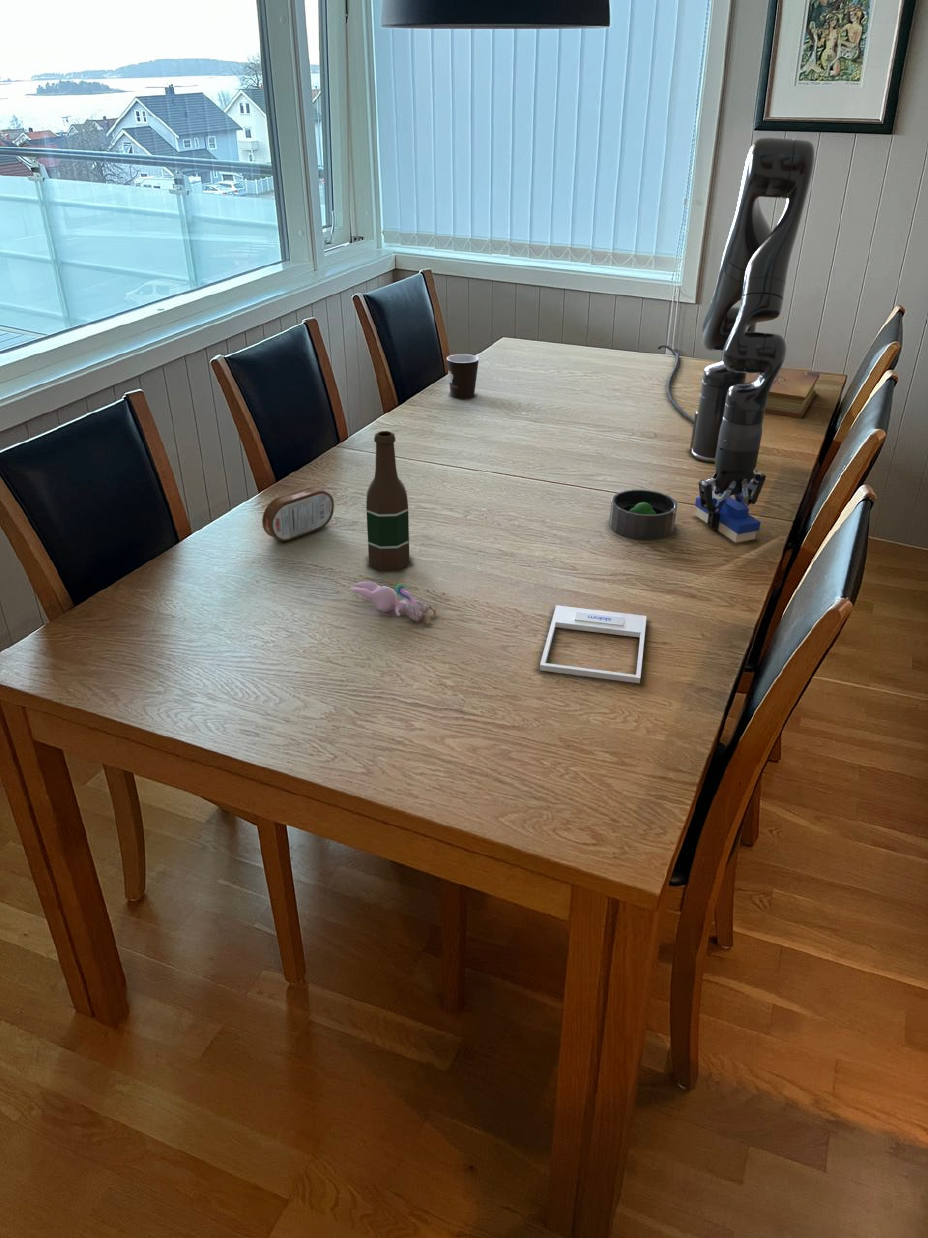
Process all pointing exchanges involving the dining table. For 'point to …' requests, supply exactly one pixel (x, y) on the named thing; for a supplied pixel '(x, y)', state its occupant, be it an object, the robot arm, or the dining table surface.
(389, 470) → the beer bottle
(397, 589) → the rabbit figure
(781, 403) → the diary
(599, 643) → the dining table surface
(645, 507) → the broccoli floret
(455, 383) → the coffee mug
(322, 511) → the tin
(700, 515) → the brush
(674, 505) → the bowl
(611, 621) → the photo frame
